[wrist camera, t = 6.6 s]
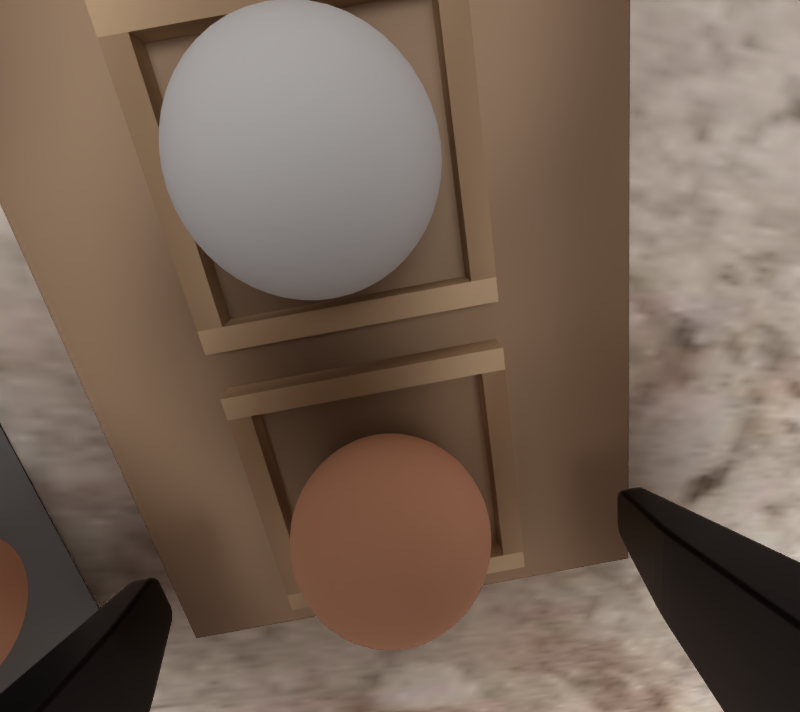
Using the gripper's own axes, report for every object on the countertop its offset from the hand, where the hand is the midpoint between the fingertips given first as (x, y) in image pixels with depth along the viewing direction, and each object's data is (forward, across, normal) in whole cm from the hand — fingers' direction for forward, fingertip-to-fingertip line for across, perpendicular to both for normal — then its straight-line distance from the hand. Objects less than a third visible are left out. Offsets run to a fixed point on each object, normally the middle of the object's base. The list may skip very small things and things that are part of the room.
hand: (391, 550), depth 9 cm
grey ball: (+2, 0, -7) cm, 7 cm away
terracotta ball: (+2, 0, 0) cm, 2 cm away
